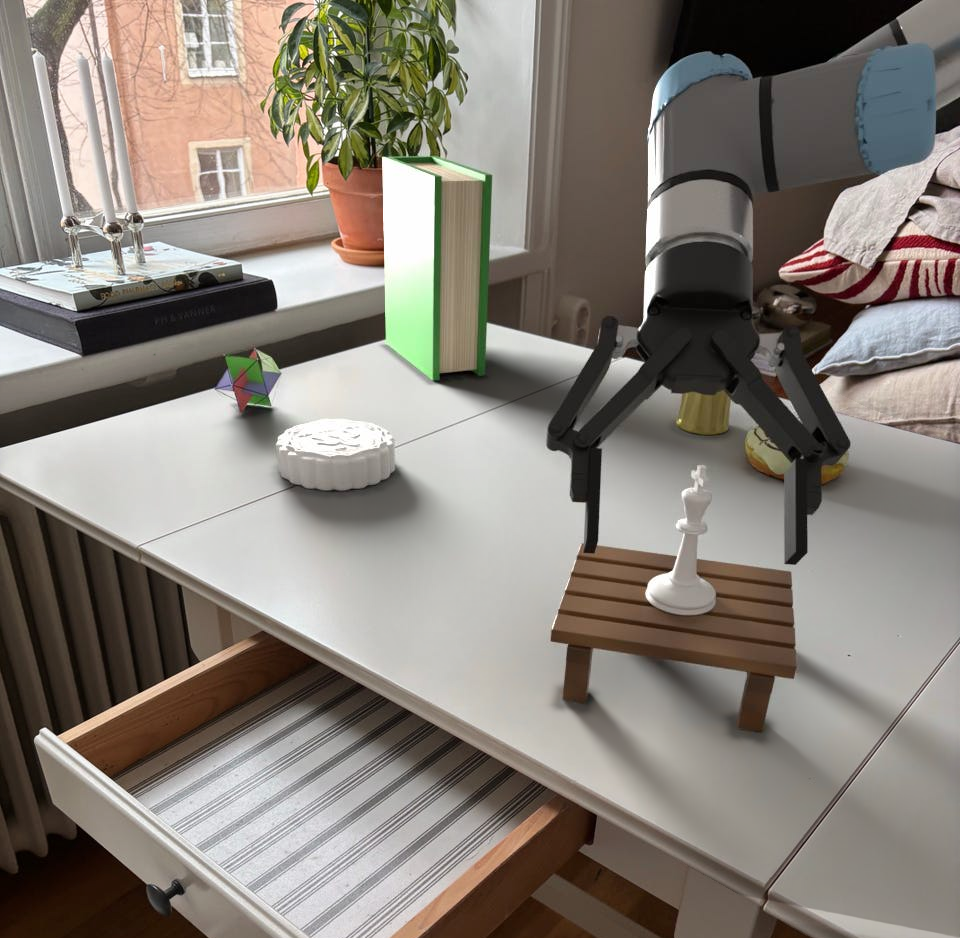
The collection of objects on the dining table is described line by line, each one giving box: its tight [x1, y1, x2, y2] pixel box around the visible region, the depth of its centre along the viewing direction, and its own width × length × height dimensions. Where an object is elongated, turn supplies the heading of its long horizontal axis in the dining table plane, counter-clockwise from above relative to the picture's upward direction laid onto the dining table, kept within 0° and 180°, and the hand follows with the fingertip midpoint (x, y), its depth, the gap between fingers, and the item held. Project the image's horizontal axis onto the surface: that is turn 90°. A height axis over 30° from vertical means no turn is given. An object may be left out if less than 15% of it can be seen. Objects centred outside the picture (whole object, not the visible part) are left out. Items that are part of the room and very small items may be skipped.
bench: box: [550, 542, 798, 733], centre depth 72 cm, size 16×14×6 cm
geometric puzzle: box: [213, 347, 283, 415], centre depth 115 cm, size 7×7×8 cm
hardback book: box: [382, 155, 493, 382], centre depth 129 cm, size 18×7×24 cm, turn 24°
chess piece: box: [646, 464, 716, 615], centre depth 68 cm, size 5×5×10 cm
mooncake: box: [275, 418, 396, 492], centre depth 101 cm, size 12×12×4 cm
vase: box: [675, 391, 732, 436], centre depth 112 cm, size 6×6×14 cm
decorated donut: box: [744, 425, 850, 485], centre depth 105 cm, size 10×11×4 cm
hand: (692, 553), depth 66 cm, fingers open, 13 cm apart
